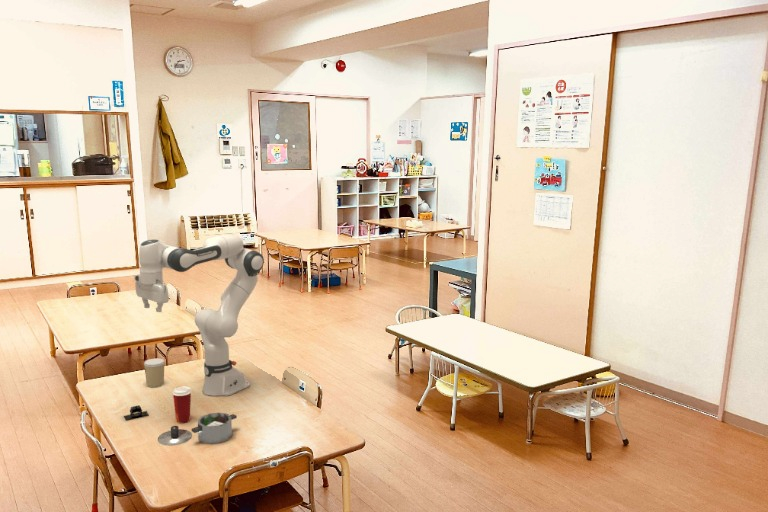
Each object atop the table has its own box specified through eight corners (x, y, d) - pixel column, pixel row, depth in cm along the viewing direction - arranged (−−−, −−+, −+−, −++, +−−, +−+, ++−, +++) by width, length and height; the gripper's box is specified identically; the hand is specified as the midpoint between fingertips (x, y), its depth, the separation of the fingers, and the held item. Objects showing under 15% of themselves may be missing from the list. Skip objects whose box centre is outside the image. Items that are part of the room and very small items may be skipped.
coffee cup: (151, 380, 294) (150, 357, 292) (169, 381, 293) (168, 358, 291) (141, 387, 285) (140, 364, 283) (159, 389, 284) (158, 365, 282)
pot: (226, 423, 250) (226, 407, 249) (244, 433, 241) (244, 417, 240) (185, 438, 236) (184, 422, 235) (202, 449, 227) (201, 432, 226)
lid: (181, 428, 246) (181, 417, 245) (198, 438, 237) (197, 427, 236) (151, 438, 236) (151, 427, 235) (167, 449, 228) (167, 438, 227)
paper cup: (196, 418, 254) (195, 387, 252) (184, 425, 247) (183, 394, 245) (181, 415, 257) (179, 384, 254) (169, 422, 249) (167, 391, 247)
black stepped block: (122, 423, 249) (122, 413, 248) (119, 417, 255) (118, 407, 254) (153, 416, 256) (152, 407, 255) (149, 410, 262) (148, 400, 261)
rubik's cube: (206, 437, 238) (206, 425, 237) (215, 432, 242) (215, 420, 241) (215, 440, 235) (215, 428, 235) (224, 435, 240) (224, 423, 239)
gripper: (171, 280, 246) (173, 312, 248) (145, 273, 259) (147, 304, 261) (158, 283, 241) (159, 315, 244) (132, 275, 254) (133, 307, 256)
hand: (152, 309), depth 252 cm, fingers open, 8 cm apart
